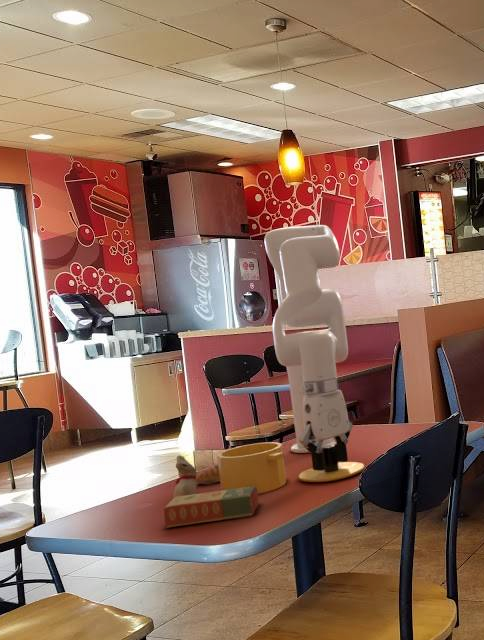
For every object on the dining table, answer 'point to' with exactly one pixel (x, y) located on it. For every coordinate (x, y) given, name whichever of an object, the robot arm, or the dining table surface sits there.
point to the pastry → (209, 476)
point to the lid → (331, 468)
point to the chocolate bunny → (185, 478)
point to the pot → (252, 467)
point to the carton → (211, 506)
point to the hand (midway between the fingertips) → (330, 465)
